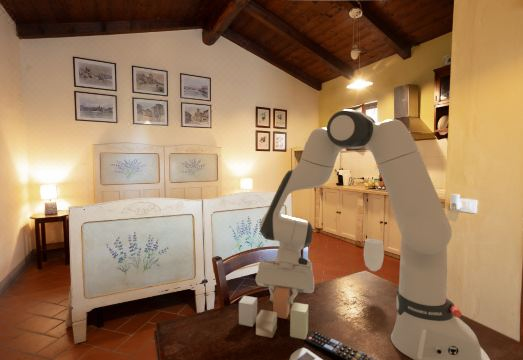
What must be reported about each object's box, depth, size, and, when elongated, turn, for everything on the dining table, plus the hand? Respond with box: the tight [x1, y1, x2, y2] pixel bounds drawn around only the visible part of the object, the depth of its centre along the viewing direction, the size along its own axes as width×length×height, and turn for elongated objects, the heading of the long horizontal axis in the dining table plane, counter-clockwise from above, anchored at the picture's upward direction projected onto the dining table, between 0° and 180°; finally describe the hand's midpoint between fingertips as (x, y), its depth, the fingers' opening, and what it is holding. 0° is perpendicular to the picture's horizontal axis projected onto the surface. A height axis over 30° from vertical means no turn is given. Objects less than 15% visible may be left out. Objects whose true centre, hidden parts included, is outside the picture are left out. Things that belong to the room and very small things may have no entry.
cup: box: [363, 238, 385, 272], centre depth 104 cm, size 7×7×21 cm
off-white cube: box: [255, 309, 278, 339], centre depth 81 cm, size 5×5×5 cm
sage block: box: [289, 301, 309, 340], centre depth 80 cm, size 4×4×8 cm
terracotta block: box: [272, 287, 291, 320], centre depth 90 cm, size 4×4×8 cm
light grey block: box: [238, 295, 258, 327], centre depth 86 cm, size 4×4×7 cm
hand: (281, 301), depth 89 cm, fingers closed on terracotta block, 4 cm apart
